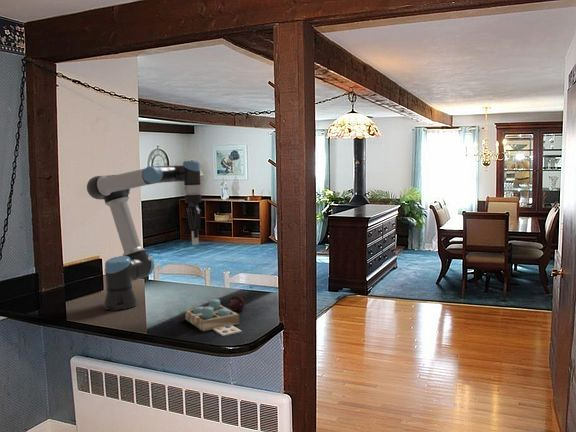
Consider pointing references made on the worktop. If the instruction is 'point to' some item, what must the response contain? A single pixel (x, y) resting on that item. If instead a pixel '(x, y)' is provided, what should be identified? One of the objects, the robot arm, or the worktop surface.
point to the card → (226, 330)
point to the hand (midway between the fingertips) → (195, 244)
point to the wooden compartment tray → (213, 322)
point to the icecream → (237, 303)
